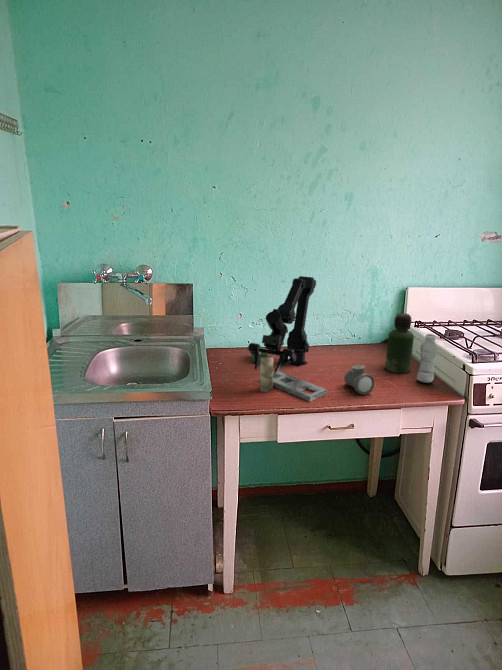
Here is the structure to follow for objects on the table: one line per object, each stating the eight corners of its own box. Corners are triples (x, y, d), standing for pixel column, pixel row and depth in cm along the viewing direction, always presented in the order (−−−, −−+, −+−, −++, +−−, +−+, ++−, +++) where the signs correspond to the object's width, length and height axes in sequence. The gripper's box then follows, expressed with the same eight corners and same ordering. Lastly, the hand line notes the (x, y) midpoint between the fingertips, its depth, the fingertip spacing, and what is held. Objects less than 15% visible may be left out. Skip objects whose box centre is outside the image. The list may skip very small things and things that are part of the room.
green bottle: (395, 375, 203) (401, 318, 196) (380, 366, 213) (386, 312, 205) (414, 372, 207) (421, 316, 200) (399, 364, 216) (405, 311, 209)
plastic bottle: (425, 385, 192) (431, 338, 187) (412, 380, 198) (418, 334, 192) (436, 383, 195) (443, 336, 190) (424, 377, 201) (430, 332, 195)
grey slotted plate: (277, 375, 200) (278, 370, 200) (326, 394, 182) (327, 389, 182) (260, 381, 194) (261, 376, 193) (309, 401, 176) (310, 396, 175)
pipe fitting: (375, 393, 184) (374, 367, 181) (357, 397, 181) (356, 371, 179) (359, 384, 195) (357, 360, 193) (341, 388, 192) (340, 364, 190)
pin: (270, 386, 189) (271, 355, 185) (274, 391, 184) (275, 360, 180) (258, 387, 187) (259, 356, 184) (261, 392, 183) (262, 361, 179)
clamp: (262, 371, 216) (267, 358, 211) (250, 368, 216) (255, 355, 210) (263, 354, 225) (268, 341, 220) (251, 352, 224) (256, 339, 219)
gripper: (250, 323, 186) (236, 358, 179) (294, 329, 178) (282, 366, 172) (258, 337, 195) (245, 370, 188) (301, 344, 187) (289, 379, 181)
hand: (265, 371), depth 182 cm, fingers open, 8 cm apart
